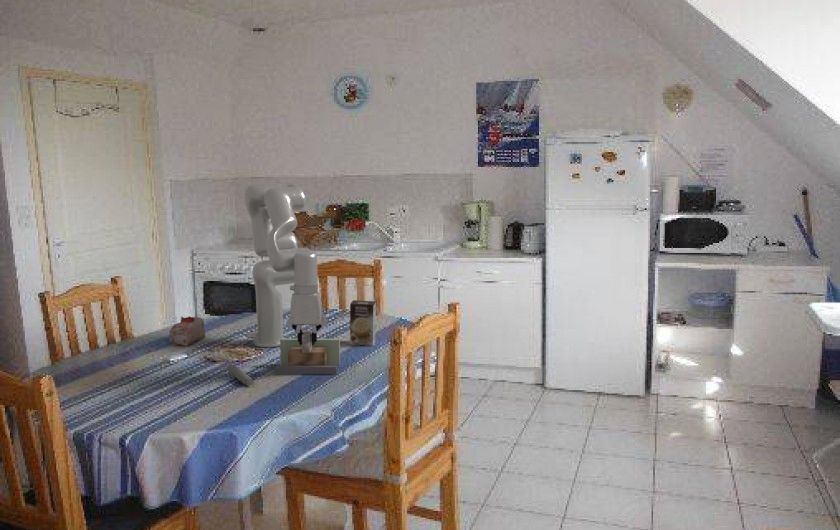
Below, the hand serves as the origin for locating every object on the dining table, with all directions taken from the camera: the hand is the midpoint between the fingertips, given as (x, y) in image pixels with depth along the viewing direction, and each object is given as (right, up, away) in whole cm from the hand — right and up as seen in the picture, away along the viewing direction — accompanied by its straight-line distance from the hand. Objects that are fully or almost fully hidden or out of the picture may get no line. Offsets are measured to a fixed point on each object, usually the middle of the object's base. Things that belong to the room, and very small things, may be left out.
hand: (307, 343), depth 220 cm
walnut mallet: (0, -9, +2) cm, 9 cm away
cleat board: (0, -9, +3) cm, 9 cm away
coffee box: (+16, -4, +32) cm, 36 cm away
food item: (-51, -4, +33) cm, 61 cm away
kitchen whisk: (-24, -10, -2) cm, 27 cm away
